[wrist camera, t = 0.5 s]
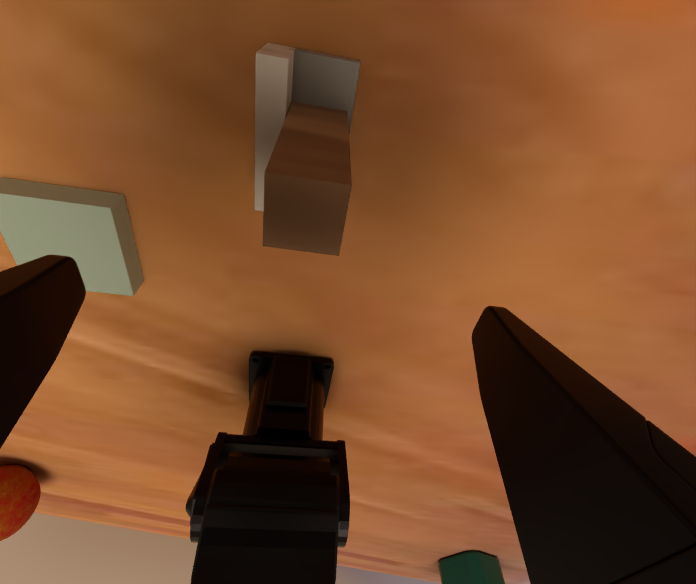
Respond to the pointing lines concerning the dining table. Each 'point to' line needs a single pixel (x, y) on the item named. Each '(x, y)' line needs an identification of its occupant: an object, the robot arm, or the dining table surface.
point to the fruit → (16, 498)
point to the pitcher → (470, 569)
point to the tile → (72, 231)
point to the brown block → (303, 146)
